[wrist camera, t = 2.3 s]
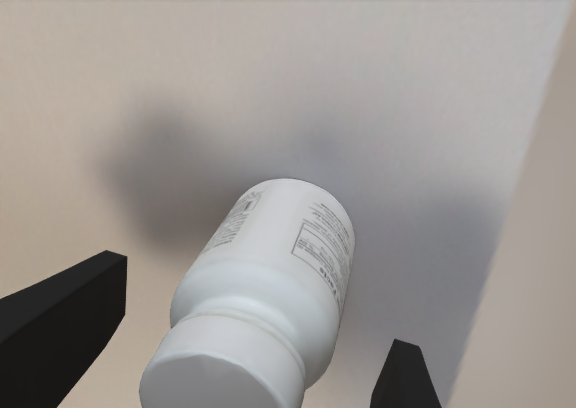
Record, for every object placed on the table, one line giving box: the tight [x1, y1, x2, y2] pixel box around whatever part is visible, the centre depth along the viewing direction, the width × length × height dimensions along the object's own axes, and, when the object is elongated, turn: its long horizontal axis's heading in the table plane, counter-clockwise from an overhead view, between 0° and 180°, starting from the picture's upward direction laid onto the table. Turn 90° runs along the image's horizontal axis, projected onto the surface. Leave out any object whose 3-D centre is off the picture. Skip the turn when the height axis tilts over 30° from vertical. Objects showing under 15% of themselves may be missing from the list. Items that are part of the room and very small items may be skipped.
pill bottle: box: [139, 179, 355, 408], centre depth 14 cm, size 4×4×8 cm
